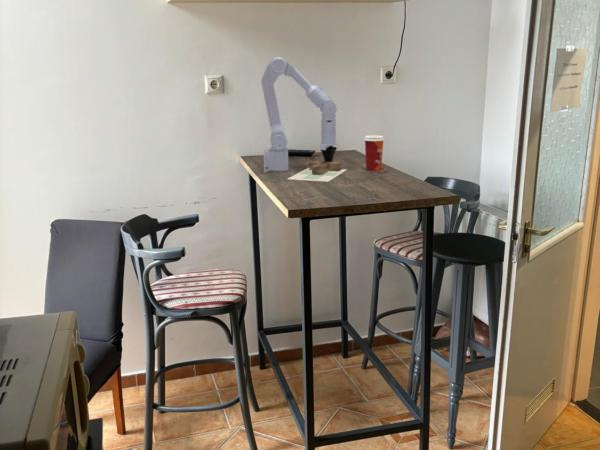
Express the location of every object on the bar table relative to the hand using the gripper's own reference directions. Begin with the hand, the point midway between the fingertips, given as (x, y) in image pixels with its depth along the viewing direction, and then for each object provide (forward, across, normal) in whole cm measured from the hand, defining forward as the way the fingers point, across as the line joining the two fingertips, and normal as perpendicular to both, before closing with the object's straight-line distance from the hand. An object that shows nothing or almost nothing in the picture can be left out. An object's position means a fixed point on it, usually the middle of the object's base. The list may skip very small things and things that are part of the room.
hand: (328, 165), depth 237 cm
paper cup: (+2, +2, -18) cm, 18 cm away
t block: (+1, -8, 0) cm, 8 cm away
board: (+2, -13, 0) cm, 13 cm away
